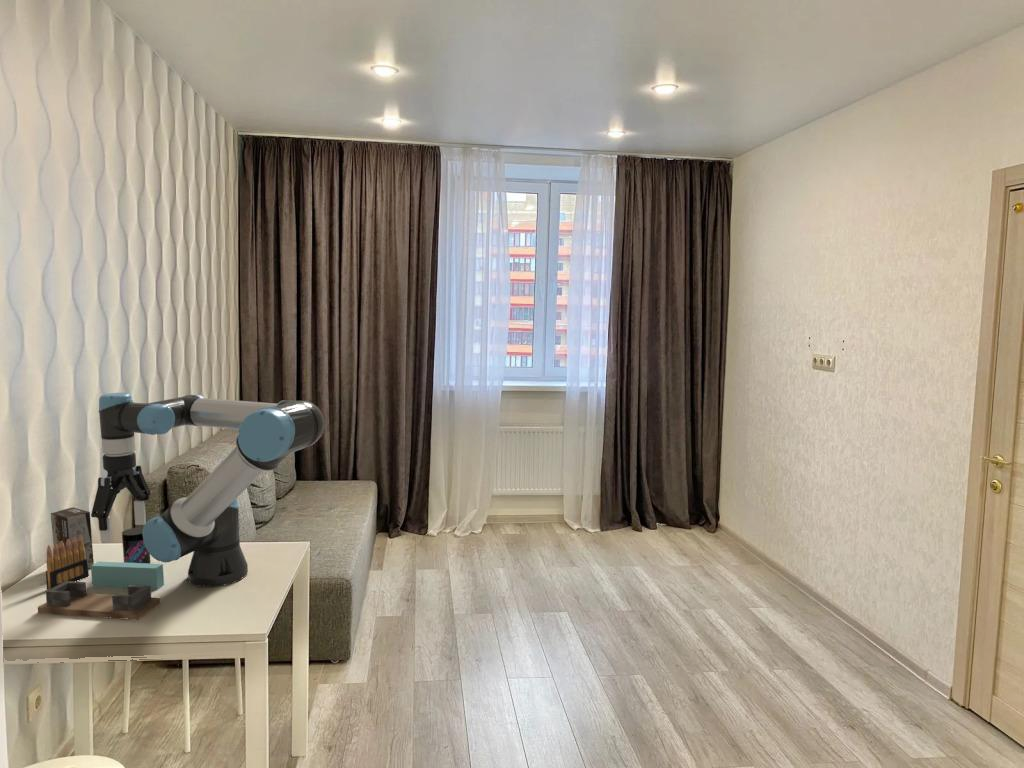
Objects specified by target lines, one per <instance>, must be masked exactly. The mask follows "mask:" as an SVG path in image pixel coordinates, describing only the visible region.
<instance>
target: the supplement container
mask: <svg viewBox="0 0 1024 768" xmlns="http://www.w3.org/2000/svg"><path fill="white" fill-rule="evenodd" d="M143 527H144V526H143ZM143 527H131V528H128V529H125V530H123V531H122V532H121V541H122V555H123V557H122V558H123V563H149V564H152V563H151V555H150V554H149V552H148V551H147V549H146V547H145V545H144V542H143V535H142V532H143Z"/></svg>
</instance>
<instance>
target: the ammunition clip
mask: <svg viewBox="0 0 1024 768" xmlns="http://www.w3.org/2000/svg"><path fill="white" fill-rule="evenodd" d="M45 562H46V571H45V578H46V579H45V580H46V590H47V589H48V590H50V589H52V588H54V587H55V586H57V585H59V584H61V583H63V582H65V581H76V582H78V581H77V580H79V581H81V580H83V578H84V579H86V577H87V578H89V577H90V575H89V569H88V564H87V559H86V556H85V548H84V543H83V538H82V536H81V535H79V540H78V546H77V541H76V538H75V537H73V540H72V550H71V544H70V541H69V539H67V541H66V553H65V547H64V544H63V542H62V541H61V542H60V556H59V551H58V547H57V544H56V543H54V544H53V549H52V547H51V546H50V544H48V545H47V548H46V561H45ZM88 576H89V577H88ZM80 579H81V580H80ZM48 590H47V591H48Z"/></svg>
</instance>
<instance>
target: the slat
mask: <svg viewBox="0 0 1024 768" xmlns="http://www.w3.org/2000/svg"><path fill="white" fill-rule="evenodd" d="M90 572H91V584H92V585H91V587H92V588H105V589H106V588H109V589H110V588H111V589H127V586H129V585H140V586H151V590H152V591H153V590H157V591H158V590H160V589H161V588H162V587H164V586H165V580H164V579H165V578H164V563H150V564H149V563H124V561H122V562H120V561H119V562H117V561H96V562H95V563H94V564H93V565H91V568H90Z"/></svg>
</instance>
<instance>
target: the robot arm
mask: <svg viewBox="0 0 1024 768" xmlns="http://www.w3.org/2000/svg"><path fill="white" fill-rule="evenodd" d="M98 414H99V425H100V426H99V427H100V428H99V429H100V438H101V452H102V453H101V454H103V456H102V468H103V470H105V471H106V472H107V475H106V477H98V478H97V490H96V494H95V498H94V501H93V504H92V505H93V506H92V510H91V512H90V518H97V522H98V530H99V536H100V543H113V542H114V539H113V527H112V516H109V515H110V512H111V511H112V507H113V505H114V503H115V500H116V498H117V495H118V494H120V493H121V491H122V490H124V489H127V490H128V491H129V493H130V494H131V495H132V496H133V498H135V500H134V501H133V508H134V509H133V510H134V512H133V513H134V525H137V526H143V532H142V535H143V542H144V545H145V547H146V549H147V551H148V552H149V554H150V557H152V558H153V559H154V560H156V561H158V562H161V563H165V564H166V563H170V562H173V561H177V560H179V559H180V558H183V557H184V556H187V555H189V554H191V553H192V557H191V559H190V560H191V561H190V563H189V566H188V570H187V579H188V583H190V584H191V585H193V586H196V587H205V588H206V587H220V586H224V584H226V585H230V584H232V582H233V583H235V582H234V581H236V582H238V581H240V580H242V579H243V578H242V577H244V576H245V575H246V574H247V572H248V573H249V568H248V567H249V565H248V562H247V559H246V558H245V555H244V552H243V549H242V547H241V543H240V542H241V541H240V540H241V539H240V522H239V521H240V518H239V509H240V508H239V505H238V497H239V496H240V495H241V494H242V493H243V492H244V491H245V490H246V489H247V488H248V487H249V486H250V485H252V484H253V482H254V481H255V480H257V479H258V477H259V476H260V475H261V474H262V473H263V472H271V471H273V470H275V469H276V468H277V467H279V465H280V464H281V463H283V461H285V460H286V459H287V458H288V457H289V456H290V455H291V454H293V453H295V452H297V451H300V450H303V449H305V448H308V447H311V446H312V445H315V443H316V442H318V441H319V439H321V437H322V435H323V433H324V430H325V419H324V415H323V413H322V410H321V409H320V408H319V407H318V406H317V405H315V404H314V403H312V402H310V401H307V400H287V399H286V400H285V399H284V400H280V401H279V402H278V403H272V402H271V403H270V402H260V401H246V400H234V399H233V400H232V399H222V398H221V399H220V398H209V397H208V398H207V397H206V398H205V397H204V396H203V395H201V394H186V395H184V396H180V397H174V398H169V399H163V400H158V401H154V402H153V401H152V402H148V403H147V402H145V403H144V402H134V401H133V397H132V394H131V393H128V392H111V393H105V394H102V395H101V396H99V399H98ZM182 426H194V427H204V428H205V427H207V428H214V429H215V428H217V429H226V430H238V433H239V434H238V435H237V437H236V439H235V445H236V446H235V447H234V448H233V449H232V450H231V451H230V453H228V455H227V456H226V457H225V458H224V459H223V460H222V461H221V462H220V463H219V464H218V465H217V466H216V467H215V468H214V469H213V471H211V472H210V473H209V475H208V476H207V477H205V479H204V480H203V481H202V482H200V483H199V485H198V486H197V487H196V488H195V489H194V490H193V491H192V492H191V493H190V494H189V495H188V496H186V497H183V496H182V497H181V498H180V497H179V498H178V499H176V500H175V501H174V502H173V503H172V504H171V505H170V506H169V507H168V508H167V509H166V510H165V511H164V512H163V513H161V514H159V515H157V516H153V517H151V518H150V519H148V520H147V515H146V514H147V513H146V511H147V510H146V509H147V508H146V501H149V500H150V496H151V490H150V488H149V486H148V483H147V481H146V479H145V477H144V474H143V472H142V471H143V470H142V466H141V465H137V458H136V457H137V455H136V453H135V451H136V439H135V433H137V434H144V435H151V436H154V435H166V434H167V433H168V432H170V430H172V429H173V428H178V427H182ZM247 575H248V574H247ZM247 575H246V576H247ZM246 576H245V577H246ZM245 577H244V578H245ZM241 578H242V579H241ZM239 579H240V580H239ZM237 580H238V581H237ZM229 583H230V584H229Z"/></svg>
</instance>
